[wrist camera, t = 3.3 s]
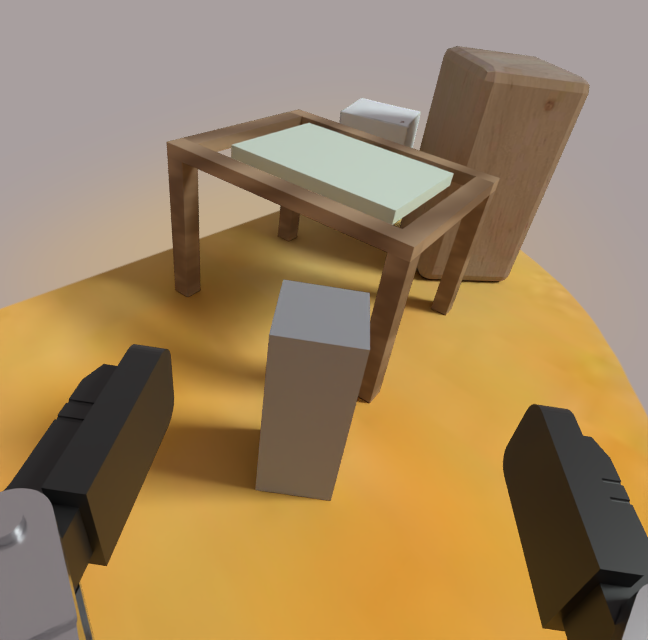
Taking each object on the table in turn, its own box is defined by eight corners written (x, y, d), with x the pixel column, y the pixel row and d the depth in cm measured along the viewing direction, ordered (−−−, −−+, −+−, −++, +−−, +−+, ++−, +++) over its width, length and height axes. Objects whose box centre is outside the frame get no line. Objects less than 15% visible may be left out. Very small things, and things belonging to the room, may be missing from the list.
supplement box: (398, 215, 62) (424, 111, 54) (382, 238, 56) (408, 126, 48) (343, 199, 63) (361, 95, 56) (323, 220, 58) (339, 108, 50)
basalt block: (255, 490, 29) (269, 334, 21) (267, 430, 32) (283, 279, 25) (330, 500, 29) (369, 350, 22) (334, 439, 32) (369, 293, 25)
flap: (231, 157, 37) (231, 144, 36) (310, 133, 44) (312, 121, 44) (392, 224, 32) (395, 210, 31) (452, 183, 39) (456, 171, 38)
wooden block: (508, 285, 52) (599, 81, 39) (419, 282, 50) (486, 66, 37) (472, 238, 59) (539, 56, 47) (394, 234, 57) (443, 42, 45)
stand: (175, 290, 43) (166, 141, 35) (286, 231, 54) (298, 109, 46) (369, 403, 35) (414, 247, 28) (451, 308, 47) (500, 178, 39)
